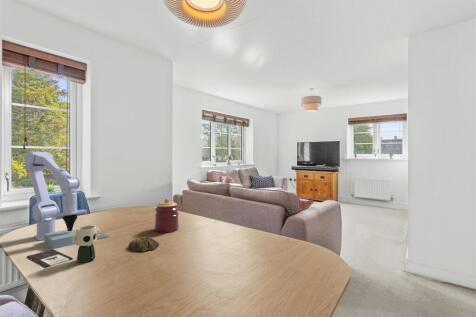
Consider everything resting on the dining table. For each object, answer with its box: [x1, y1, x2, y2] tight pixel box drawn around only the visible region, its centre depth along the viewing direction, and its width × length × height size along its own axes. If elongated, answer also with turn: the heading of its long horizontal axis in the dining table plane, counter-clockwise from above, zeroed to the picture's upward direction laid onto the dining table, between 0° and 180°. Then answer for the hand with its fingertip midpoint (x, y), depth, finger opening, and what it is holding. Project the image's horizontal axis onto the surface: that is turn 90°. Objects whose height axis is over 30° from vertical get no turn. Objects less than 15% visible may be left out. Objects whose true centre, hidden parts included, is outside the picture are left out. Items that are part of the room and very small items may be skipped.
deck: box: [44, 229, 76, 250], centre depth 119 cm, size 14×11×4 cm
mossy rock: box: [127, 236, 160, 253], centre depth 114 cm, size 13×12×5 cm
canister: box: [154, 197, 180, 233], centre depth 141 cm, size 13×13×18 cm
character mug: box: [72, 224, 100, 263], centre depth 99 cm, size 11×7×13 cm, turn 153°
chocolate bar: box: [26, 248, 74, 269], centre depth 101 cm, size 9×1×18 cm
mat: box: [96, 231, 110, 241], centre depth 128 cm, size 16×12×1 cm
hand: (69, 230), depth 121 cm, fingers closed
